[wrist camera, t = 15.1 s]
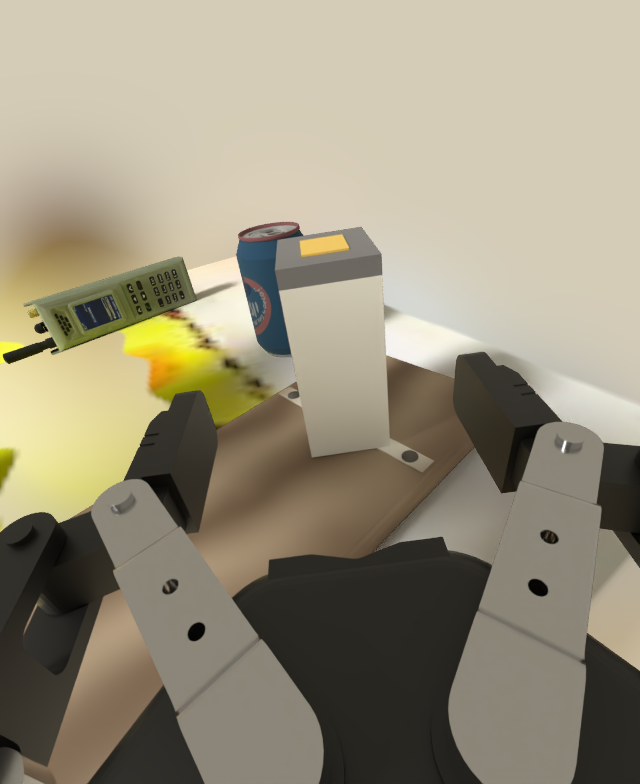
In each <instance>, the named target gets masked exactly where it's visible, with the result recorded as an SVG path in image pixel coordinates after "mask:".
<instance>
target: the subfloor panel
mask: <svg viewBox="0 0 640 784" xmlns="http://www.w3.org/2000/svg"><path fill="white" fill-rule="evenodd" d="M386 368H387V391H388V413H389V435H390V446H388V447H381V448H374V449H367V450H360V451H353V452H347V453H340V454H333V455H326V456H319V457H313V458H312V456H311V451H310V446H309V441H308V435H307V430H306V425H305V420H304V415H303V410H302V405H301V400H300V395H299V390H298V385H297V382H295V383H293V384H292V385H290V386H289V387H287V388H285V389H284V390H282V391H280V392H279V393H277V394H275V395H274V396H272V397H270V398H269V399H267V400H265V401H264V402H262V403H260V404H259V405H257V406H255V407H254V408H252V409H250V410H249V411H247V412H246V413H244V414H242V415H241V416H239V417H237V418H236V419H234V420H232V421H231V422H229V423H227V424H226V425H224V426H222V427H221V428H219V429H217V430H216V431H217V438H218V445H217V451H216V455H215V460H214V465H213V469H212V474H211V478H210V483H209V488H208V492H207V497H206V501H205V506H204V511H203V515H202V520H201V524H200V529H199V532H198V533H190V534H187V536H188V537H189V539H190V540H191V541H192V543H193V544H194V546H195V547H196V549H197V550H198V551H199V553H200V554H201V556H202V557H203V558H204V560H205V561H206V563H207V564H208V566H209V567H210V568H211V570H212V571H213V573H214V574H215V575H216V577H217V578H218V580H219V581H220V583H221V584H222V585H223V587H224V588H225V590H226V591H227V592H228V594H229V595H230V597H231V598H232V597H233V596H234V595H235V594H236V593H238V592H239V591H240V590H241V589H242V588H244V587H245V586H247V585H248V584H250V583H251V582H253V581H254V580H256V579H258V578H260V577H262V576H264V575H267V574H268V568H269V560H271V559H278V558H286V557H293V556H301V555H308V554H315V555H324V556H333V557H342V558H351V559H357V558H361V557H364V556H367V555H369V554H372V553H373V552H374V550H375V549H376V548H377V547H378V546H379V545H380V544H381V543H382V542H383V541H384V540H385V539H386V538H387V537H388V536H389V535H390V534H391V533H392V532H393V531H394V530H395V529H396V528H397V527H398V526H399V525H400V523H401V522H402V521H403V520H404V519H405V518H406V517H407V516H408V515H409V514H410V513H411V512H412V511H413V510H414V509H415V508H416V507H417V506H418V505H419V504H420V503H421V502H422V501H423V500H424V499H425V497H426V496H427V495H428V494H429V493H430V492H431V491H432V490H433V489H434V488H435V487H436V486H437V485H438V484H439V483H440V482H441V481H442V480H443V479H444V478H445V477H446V476H447V475H448V474H449V473H450V472H451V470H452V469H453V468H454V467H455V466H456V465H457V464H458V463H459V462H460V461H461V460H462V459H463V458H464V457H465V456H466V455H467V454H468V453H469V452H470V451H471V450H472V449H473V448H474V447H475V446H474V444H473V443H472V441H471V439H470V437H469V436H468V434H467V432H466V430H465V429H464V427H463V425H462V423H461V422H460V420H459V418H458V416H457V414H456V412H455V408H454V403H453V391H454V380H455V379H453V378H450V377H447V376H444V375H441V374H439V373H436V372H433V371H430V370H427V369H424V368H421V367H418V366H415V365H412V364H410V363H407V362H404V361H401V360H398V359H395V358H392V357H389V356H386ZM93 505H94V504H93ZM93 505H92V506H90V507H89V508H87V509H85V510H84V511H82V512H80V513H79V514H77V515H75V516H74V517H76V516H79V515H82V514H84V513H87V512H89V511H92V507H93ZM74 517H72V518H74ZM70 519H71V518H70ZM36 607H37V604H36V605H35V607H34V610H33V612H32V614H31V616H30V618H29V620H28V622H27V625H26V627H25V630H24V633H25V631H26V629H27V627H28V625H29V622H30V620H31V618H32V616H33V614H34V612H35V609H36ZM23 635H24V634H23ZM163 685H164V684H163V682H162V679H161V677H160V675H159V673H158V671H157V668H156V666H155V664H154V662H153V660H152V657H151V655H150V653H149V651H148V649H147V646H146V644H145V642H144V640H143V638H142V635H141V633H140V631H139V629H138V627H137V624H136V622H135V620H134V618H133V616H132V613H131V611H130V609H129V607H128V605H127V602H126V600H125V598H124V596H123V594H122V591H121V589H119V590H117V591H115V592H112V593H110V594H108V595H106V596H104V597H103V600H102V603H101V606H100V609H99V612H98V615H97V618H96V621H95V624H94V627H93V630H92V633H91V636H90V639H89V643H88V646H87V649H86V652H85V655H84V658H83V661H82V664H81V667H80V670H79V673H78V676H77V679H76V682H75V685H74V688H73V691H72V694H71V697H70V700H69V703H68V706H67V709H66V712H65V715H64V718H63V721H62V724H61V727H60V730H59V733H58V736H57V739H56V742H55V745H54V749H53V752H52V755H51V758H50V761H49V764H48V767H47V768H49V769H50V770H51V771H52V773H53V775H54V777H55V780H56V784H87V783H88V782H89V781H90V779H91V778H92V777H93V775H94V774H95V773H96V772H97V770H98V769H99V768H100V766H101V765H102V764H103V762H104V761H105V760H106V759H107V757H108V756H109V755H110V753H111V752H112V751H113V750H114V748H115V747H116V746H117V744H118V743H119V742H120V740H121V739H122V738H123V737H124V735H125V734H126V733H127V731H128V730H129V729H130V727H131V726H132V725H133V724H134V722H135V721H136V720H137V718H138V717H139V716H140V714H141V713H142V712H143V711H144V709H145V708H146V707H147V705H148V704H149V703H150V701H151V700H152V699H153V698H154V696H155V695H156V694H157V692H158V691H159V690H160V689H161V687H162V686H163Z"/></svg>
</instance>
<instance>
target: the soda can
mask: <svg viewBox="0 0 640 784" xmlns="http://www.w3.org/2000/svg"><path fill="white" fill-rule="evenodd" d="M300 236H303V234H302V233H301V232H300V230H299V224H297V223H294V222H278V223H270V224H264V225H259V226H255V227H252V228H249V229H246V230H244V231H242V232H240V233H239V234H238V237H239V239H240V240H239V244H238V249H237V254H236V256H237V260H238V264H239V268H240V272H241V276H242V280H243V284H244V289H245V293H246V297H247V301H248V305H249V309H250V313H251V317H252V321H253V325H254V329H255V333H256V337H257V341H258V343H259V344H260V345H261V346H262V347H263V348H264V349H265V350H266V351H267V352H268V353H269V354H271V355H273V356H277V357H290V356H292V355H291V349H290V344H289V339H288V334H287V329H286V324H285V319H284V314H283V309H282V304H281V299H280V294H279V289H278V284H277V279H276V274H275V263H276V252H277V240H281V239H287V238H293V237H300Z"/></svg>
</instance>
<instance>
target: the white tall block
mask: <svg viewBox="0 0 640 784" xmlns="http://www.w3.org/2000/svg"><path fill="white" fill-rule="evenodd" d="M275 274H276V279H277V284H278V289H279V294H280V299H281V304H282V309H283V314H284V319H285V324H286V329H287V334H288V339H289V344H290V349H291V355H292V360H293V365H294V370H295V375H296V380H297V385H298V390H299V395H300V400H301V405H302V410H303V415H304V420H305V425H306V430H307V435H308V441H309V446H310V451H311V456H312V458H313V457H319V456H326V455H333V454H340V453H347V452H353V451H360V450H367V449H374V448H381V447H388V446H390V435H389V413H388V391H387V368H386V346H385V324H384V302H383V281H382V257H381V253H380V252H379V250H378V249H377V247H376V246H375V245H374V243H373V242H372V241H371V239H370V238H369V237H368V235H367V234H366V233H365V231H364V230H363V228H362V227H357V228H351V229H344V230H338V231H332V232H325V233H319V234H312V235H306V236H300V237H293V238H287V239H281V240H277V252H276V263H275Z"/></svg>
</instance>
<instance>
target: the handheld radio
mask: <svg viewBox="0 0 640 784" xmlns="http://www.w3.org/2000/svg"><path fill="white" fill-rule="evenodd" d="M196 300H197V299H196V296H195V293H194V290H193V287H192V284H191V282H190V279H189V276H188V273H187V270H186V267H185V264H184V261H183V258H182V257H175V258H171V259H168V260H165V261H162V262H159V263H155V264H152V265H149V266H145V267H142V268H139V269H136V270H132V271H129V272H126V273H123V274H119V275H116V276H113V277H109V278H106V279H103V280H99V281H96V282H93V283H90V284H86V285H83V286H80V287H77V288H73V289H70V290H67V291H64V292H60V293H57V294H54V295H51V296H47V297H44V298H41V299H37V300H34V301H31V302H28V303H25V304H23V306H24V307H25V306H30V305H34V306H35V308H36V309H34V310H32V311H31V310H30V311H28V314H29V316H30V317H31V318H33V317H37V316H39V315H40V317H41V319H42V320H43V322H41V323H39V324H36V325H35V328H34V329H35V331H36V332H37V333H40V334H42V333H45V332H46V331H47V332H48V331H49V333H50V334H51V336H52V337H51V338H48V339H45V341H43V342H40V343H35V344H32V345H29V346H26V347H23V348H20V349H17V350H14V351H11V352H8V353H5V354H3V358H4V360H5V361H6V362H7V363H8V364H10V363H13V362H16V361H18V360H21V359H24V358H27V357H29V356H32V355H35V354H38V353H40V352H43V351H42V350H45V349H48V348H54V347H58V348H56V349H54V350H52V351H51V354H52V355H55V354H57V353H60V352H63V351H66V350H69V349H71V348H74V347H76V346H79V345H82V344H84V343H87V342H89V341H92V340H95V339H98V338H100V337H103V336H106V335H108V334H111V333H114V332H116V330H118V329H121V328H124V327H127V326H129V325H132V324H135V323H137V322H140V321H143V320H145V319H148V318H151V317H153V316H156V315H159V314H161V313H164V312H167V311H170V310H172V309H175V308H178V307H180V306H183V305H186V304H188V303H191V302H194V301H196ZM43 327H44V328H45V329H44V328H43Z"/></svg>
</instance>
